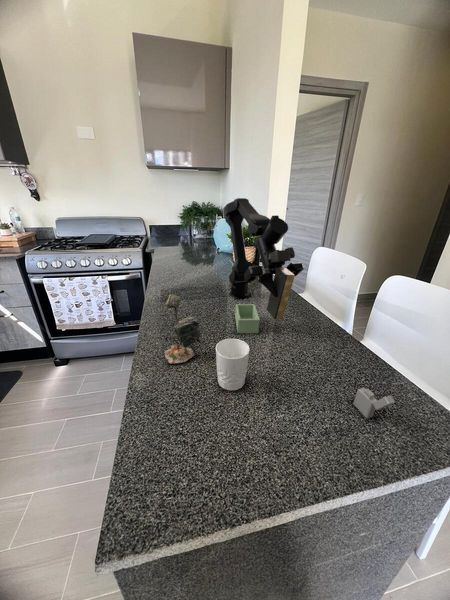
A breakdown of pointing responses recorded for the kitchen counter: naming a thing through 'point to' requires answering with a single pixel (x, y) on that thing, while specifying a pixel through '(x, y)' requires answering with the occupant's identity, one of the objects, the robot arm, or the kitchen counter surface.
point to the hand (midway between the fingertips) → (281, 296)
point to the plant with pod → (182, 335)
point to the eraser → (280, 292)
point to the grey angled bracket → (370, 402)
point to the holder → (247, 318)
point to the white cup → (232, 363)
